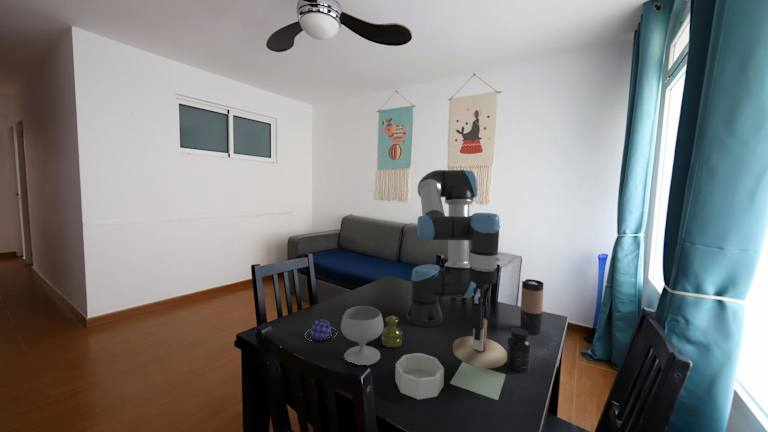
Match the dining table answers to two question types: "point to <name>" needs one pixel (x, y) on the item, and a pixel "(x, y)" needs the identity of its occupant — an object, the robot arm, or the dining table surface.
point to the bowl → (419, 376)
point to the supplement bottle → (518, 351)
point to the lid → (487, 358)
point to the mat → (479, 380)
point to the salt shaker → (392, 333)
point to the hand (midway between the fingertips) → (479, 345)
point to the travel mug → (531, 306)
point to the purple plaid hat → (320, 329)
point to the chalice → (362, 333)
